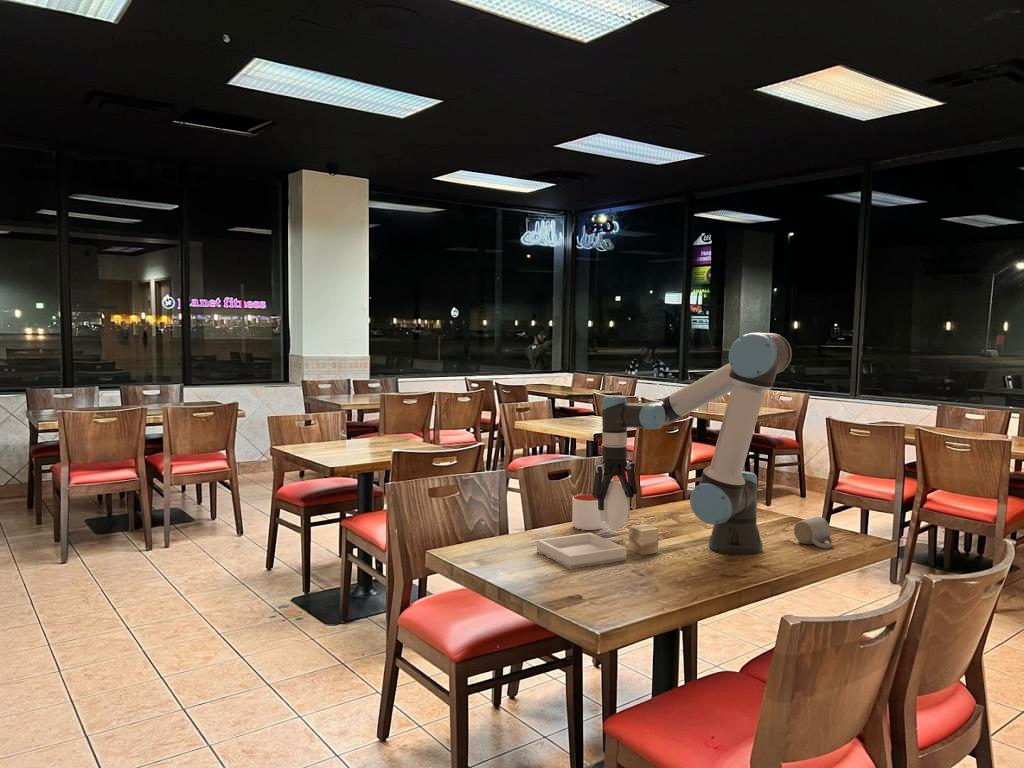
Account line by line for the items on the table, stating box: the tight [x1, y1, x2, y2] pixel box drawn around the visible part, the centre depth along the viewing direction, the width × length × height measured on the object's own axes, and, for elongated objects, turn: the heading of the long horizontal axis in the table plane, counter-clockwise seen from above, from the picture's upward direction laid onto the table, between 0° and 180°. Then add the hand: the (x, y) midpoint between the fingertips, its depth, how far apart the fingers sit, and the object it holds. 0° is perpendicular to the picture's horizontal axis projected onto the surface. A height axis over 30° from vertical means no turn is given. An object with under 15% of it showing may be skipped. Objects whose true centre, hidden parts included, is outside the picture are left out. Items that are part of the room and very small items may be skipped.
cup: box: [571, 494, 604, 531], centre depth 241 cm, size 10×10×10 cm
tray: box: [536, 532, 627, 570], centre depth 210 cm, size 18×18×4 cm
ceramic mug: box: [793, 516, 833, 549], centre depth 221 cm, size 11×8×8 cm
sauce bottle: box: [604, 475, 628, 531], centre depth 227 cm, size 8×8×18 cm
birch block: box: [628, 523, 659, 556], centre depth 214 cm, size 6×6×7 cm
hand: (614, 518), depth 227 cm, fingers closed on sauce bottle, 8 cm apart
